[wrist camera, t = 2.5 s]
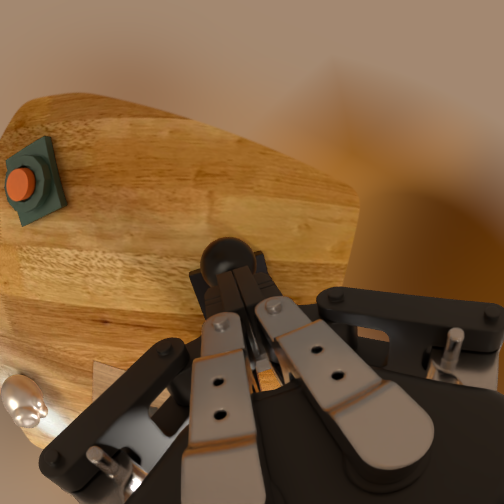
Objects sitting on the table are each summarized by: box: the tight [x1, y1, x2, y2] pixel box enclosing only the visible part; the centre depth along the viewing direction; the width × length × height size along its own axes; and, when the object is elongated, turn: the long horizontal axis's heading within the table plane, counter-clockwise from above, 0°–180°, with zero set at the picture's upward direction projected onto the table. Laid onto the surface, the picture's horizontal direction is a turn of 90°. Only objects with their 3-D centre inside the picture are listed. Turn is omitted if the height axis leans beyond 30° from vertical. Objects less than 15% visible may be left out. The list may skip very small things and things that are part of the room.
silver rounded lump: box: [1, 375, 48, 428], centre depth 28 cm, size 9×10×10 cm
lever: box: [200, 237, 271, 373], centre depth 20 cm, size 16×3×3 cm, turn 13°
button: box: [6, 168, 36, 201], centre depth 22 cm, size 4×4×2 cm
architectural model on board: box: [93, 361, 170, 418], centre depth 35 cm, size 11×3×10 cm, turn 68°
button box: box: [4, 136, 67, 227], centre depth 24 cm, size 9×7×4 cm
